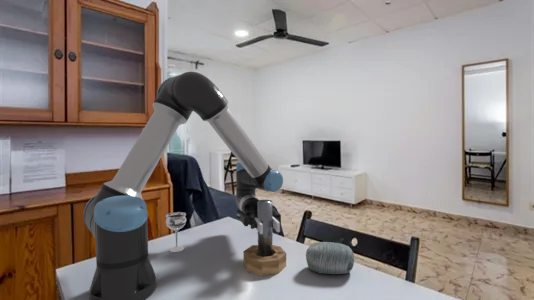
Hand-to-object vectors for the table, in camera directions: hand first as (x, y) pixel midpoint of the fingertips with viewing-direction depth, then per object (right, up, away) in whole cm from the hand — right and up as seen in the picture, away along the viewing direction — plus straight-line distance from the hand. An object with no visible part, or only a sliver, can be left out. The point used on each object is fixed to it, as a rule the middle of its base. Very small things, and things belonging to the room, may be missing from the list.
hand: (270, 228), depth 80 cm
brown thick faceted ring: (-2, -13, +6) cm, 14 cm away
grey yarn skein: (+17, -13, +2) cm, 22 cm away
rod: (-1, -9, +6) cm, 11 cm away
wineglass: (-32, -12, +18) cm, 39 cm away
